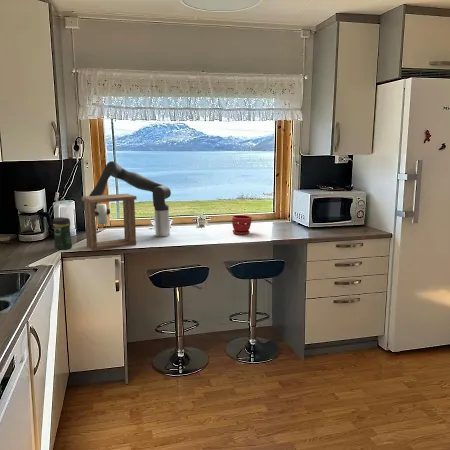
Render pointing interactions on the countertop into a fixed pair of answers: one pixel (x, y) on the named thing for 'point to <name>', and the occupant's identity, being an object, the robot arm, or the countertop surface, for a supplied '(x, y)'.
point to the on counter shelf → (128, 221)
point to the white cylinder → (101, 214)
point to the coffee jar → (62, 233)
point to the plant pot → (241, 224)
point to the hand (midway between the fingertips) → (103, 213)
